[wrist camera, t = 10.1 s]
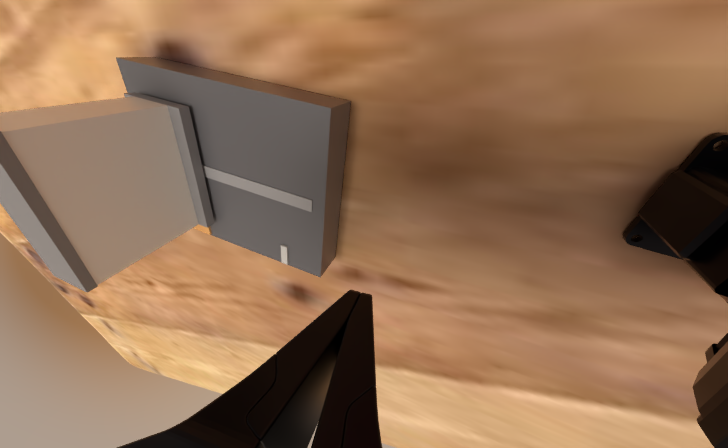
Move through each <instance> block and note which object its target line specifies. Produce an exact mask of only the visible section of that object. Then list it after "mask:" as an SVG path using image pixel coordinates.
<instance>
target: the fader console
mask: <svg viewBox="0 0 728 448" xmlns="http://www.w3.org/2000/svg"><path fill="white" fill-rule="evenodd" d="M116 59H117V62H118V65H119V68H120V71H121V74H122V77H123V80H124V83H125V86H126V89H127V92H128V93H133V92H136V93H140V94H143V95H147V96H151V97H155V98H158V99H162V100H166V101H170V102H173V103H177V104H181V105H185V106H188V107H189V110H190V114H191V119H192V123H193V128H194V132H195V137H196V141H197V146H198V150H199V155H200V159H201V164H202V168H203V173H204V177H205V182H206V186H207V191H208V195H209V200H210V204H211V209H212V213H213V218H214V222H215V223H214V224H213V225H211V226H210V227H208V228H207V227H204V226H202V225H199V224H198V225H197V226H195V227H193V228H194V229H196V230H199V231H202V232H204V233H207V234H209V235H213V236H215V237H218V238H220V239H223V240H225V241H228V242H231V243H233V244H236V245H238V246H241V247H244V248H246V249H249V250H251V251H254V252H256V253H259V254H262V255H264V256H267V257H269V258H272V259H275V260H277V261H280V262H282V263H284V264H287V265H290V266H293V267H295V268H298V269H300V270H303V271H306V272H308V273H311V274H313V275H316V276H318V277H321V276H322V275H323V273H324V272H325V270H326V269H327V268H328V266H329V265H330V263H331V262H332V261H333V259H334V258H335V255H336V245H337V235H338V225H339V215H340V205H341V195H342V185H343V175H344V165H345V155H346V145H347V135H348V125H349V115H350V105H351V101H349V100H344V99H340V98H335V97H331V96H326V95H322V94H317V93H313V92H309V91H304V90H300V89H295V88H291V87H286V86H282V85H277V84H273V83H269V82H264V81H260V80H255V79H251V78H246V77H242V76H237V75H233V74H228V73H224V72H220V71H215V70H211V69H206V68H202V67H197V66H193V65H188V64H184V63H180V62H175V61H171V60H166V59H162V58H157V57H127V58H116Z"/></svg>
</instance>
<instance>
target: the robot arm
mask: <svg viewBox="0 0 728 448" xmlns="http://www.w3.org/2000/svg"><path fill="white" fill-rule="evenodd" d="M722 140H723V143H722V145H721V146H720V147H718V148H715V149H713V146H714V144H716V143H717V142H719V141H722ZM634 235H639V236H638V237H637V238H632V236H634ZM623 238H624V240H625V241H626V242H627V243H628V244H630V245H632V246H636V247H640V248H643V249H647V250H650V251H654V252H657V253H661V254H664V255H668V256H672V257H675V258H679V259H682V260H684V261H685V262H686V263H687V264H688V265H689V266H690V267H691V268H692V269H693V270H694V271H695V272H696V273H697V274H698V275H699V276H700V277H701V278H702V279H703V280H704V281H705V282H706V283H707V284H708V285H709V286H710V287H711V288H712V290H713V291H714V292H715V293H717V294H719V295H720V296H721V297H722V298H723V299H724V300H725V301H726V302H727V303H728V134H727V133H716V134H712V135H710V136H708V137H707V138H705V139H704V140H703V141H702V142H701V143H700V145H699V146H698V147H697V148H696V149H695V150H694V152H693V153H692V154H691V155H690V156H689V157H688V159H687V160H686V161H685V162H684V163H683V164H682V165H681V167H680V168H679V169H678V170H677V171H676V172H674V173H672V174H671V175H670V176H669V177H668V179H667V180H666V181H665V182H664V183H663V184H662V186H661V187H660V188H659V189H658V190H657V191H656V193H655V194H654V195H653V196H652V197H651V198H650V200H649V201H648V202H647V203H646V204H645V206H644V207H643V208H642V209H641V210H640V211H639V215H638V217H637V218H636V219H635V220H634V221H633V222H632V224H631V225H630V226H629V227H628V228H627V229H626V231H625V232H624V233H623ZM705 354H706V359H707V364H706V365H705V366H704V367H703V368H702V369H701V370H700V371H699V373H698V375H697V378H696V380H695V382H694V385H693V390H694V394H695V398H696V402H697V406H698V410H699V412H700V415H699V416H698V418H697V422H698V424H699V426H700V427H701V429H702V430H703V432H704V433H705V435H706V436H707V438H708V439H709V441H710V442H711V444H712V445H713V446H714V448H728V333H727V334H726V335H725V336H724V337H723V339H722V340H721V341H720V342H719V343H718V344H712V345H711V346H710V347H709V348H708V350H707V351H706V352H705ZM318 421H319V422H318ZM317 424H318V425H317ZM316 426H317V429H316V432H315V436H314V439H313V443H312V446H311V448H382V443H381V436H380V429H379V422H378V410H377V394H376V374H375V351H374V328H373V305H372V295H370V294H366V293H360V292H358V291H354V290H349V291H348V292H347V293H346V294H344V295H343V296H342V297H341V298H340V299H339V300H337V301H336V302H335V303H334V304H333V305H332V306H330V307H329V308H328V309H327V310H326V311H325V312H323V313H322V314H321V315H320V316H319V317H318V318H316V319H315V320H314V321H313V322H312V323H311V324H309V325H308V326H307V327H306V328H305V329H304V330H302V331H301V332H300V333H299V334H298V335H297V336H295V337H294V338H293V339H292V340H291V341H290V342H288V343H287V344H286V345H285V346H284V347H283V348H281V349H280V350H279V351H278V352H277V353H276V354H274V355H273V356H272V357H271V358H270V359H268V360H267V361H266V362H265V363H264V364H262V365H261V366H260V367H259V368H257V369H256V370H255V371H254V372H253V373H251V374H250V375H249V376H247V377H246V378H245V379H243V380H242V381H241V382H239V383H238V384H236V385H235V386H234V387H232V388H231V389H229V390H228V391H227V392H225V393H224V394H222V395H221V396H220V397H218V398H217V399H215V400H214V401H213V402H211V403H210V404H208V405H207V406H206V407H204V408H203V409H201V410H200V411H198V412H197V413H196V414H194V415H193V416H191V417H190V418H188V419H187V420H185V421H183V422H181V423H180V424H178V425H176V426H174V427H172V428H170V429H167V430H165V431H162V432H160V433H157V434H154V435H151V436H148V437H146V438H143V439H140V440H137V441H134V442H132V443H129V444H126V445H123V446H120V447H117V448H307V447H308V444H309V442H310V440H311V438H312V435H313V433H314V431H315V428H316Z"/></svg>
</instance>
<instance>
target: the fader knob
mask: <svg viewBox="0 0 728 448" xmlns="http://www.w3.org/2000/svg"><path fill="white" fill-rule="evenodd" d="M124 96H125V98H117V99H109V100H100V101H92V102H84V103H75V104H67V105H59V106H51V107H42V108H34V109H26V110H17V111H9V112H1V113H0V203H1V205H2V206H3V207H4V209H5V210H6V211H7V213H8V214H9V215H10V217H11V218H12V219H13V221H14V222H15V224H16V225H17V226H18V228H19V229H20V230H21V232H22V233H23V234H24V236H25V237H26V238H27V240H28V241H29V242H30V244H31V245H32V247H33V248H34V249H35V251H36V252H37V253H38V255H39V256H40V257H41V259H42V260H43V261H44V263H45V264H46V266H47V267H48V268H49V270H50V271H51V272H52V274H53V275H54V276H55V277H57V278H59V279H61V280H63V281H65V282H67V283H69V284H71V285H73V286H75V287H77V288H79V289H81V290H83V291H85V292H89V291H91V290H92V289H94V288H96V287H97V285H98V284H100V283H102V282H103V281H105V280H107V279H108V278H110V277H112V276H113V275H115V274H117V273H118V272H120V271H122V270H123V269H125V268H127V267H128V266H130V265H132V264H133V263H135V262H137V261H138V260H140V259H142V258H143V257H145V256H147V255H148V254H150V253H152V252H153V251H155V250H157V249H158V248H160V247H162V246H163V245H165V244H167V243H168V242H170V241H172V240H173V239H175V238H177V237H178V236H180V235H182V234H183V233H185V232H187V231H188V230H190V229H192V228H193V227H195V226H197V225H198V224H199V225H202V226H204V227H207V228H208V227H210V226H211V225H213V224H214V223H215V222H214V218H213V213H212V209H211V204H210V200H209V195H208V191H207V186H206V182H205V177H204V173H203V168H202V164H201V159H200V155H199V150H198V146H197V141H196V137H195V132H194V128H193V123H192V119H191V114H190V110H189V107H188V106H185V105H181V104H177V103H173V102H170V101H166V100H162V99H158V98H155V97H151V96H147V95H143V94H140V93H136V92H133V93H124Z"/></svg>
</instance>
